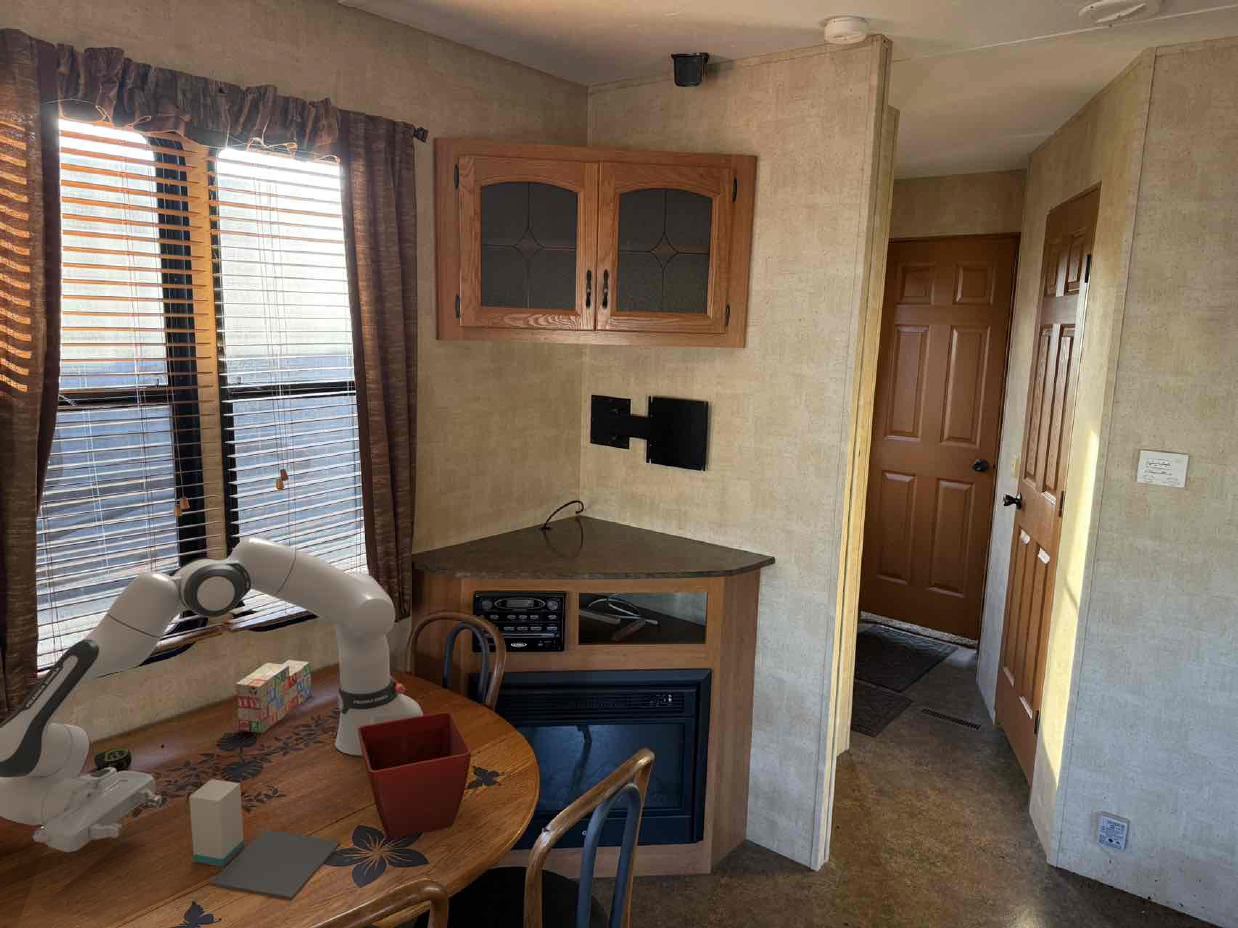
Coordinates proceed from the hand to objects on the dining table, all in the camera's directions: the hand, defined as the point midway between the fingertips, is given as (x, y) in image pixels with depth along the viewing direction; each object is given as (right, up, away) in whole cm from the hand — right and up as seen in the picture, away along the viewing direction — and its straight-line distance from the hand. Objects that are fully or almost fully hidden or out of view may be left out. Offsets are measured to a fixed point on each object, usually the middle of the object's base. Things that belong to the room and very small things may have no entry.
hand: (139, 816), depth 157 cm
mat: (+25, -9, +1) cm, 26 cm away
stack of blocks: (+2, +2, +59) cm, 59 cm away
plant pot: (+46, -7, +16) cm, 49 cm away
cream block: (+13, -8, +3) cm, 16 cm away
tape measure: (-23, -3, +31) cm, 39 cm away
